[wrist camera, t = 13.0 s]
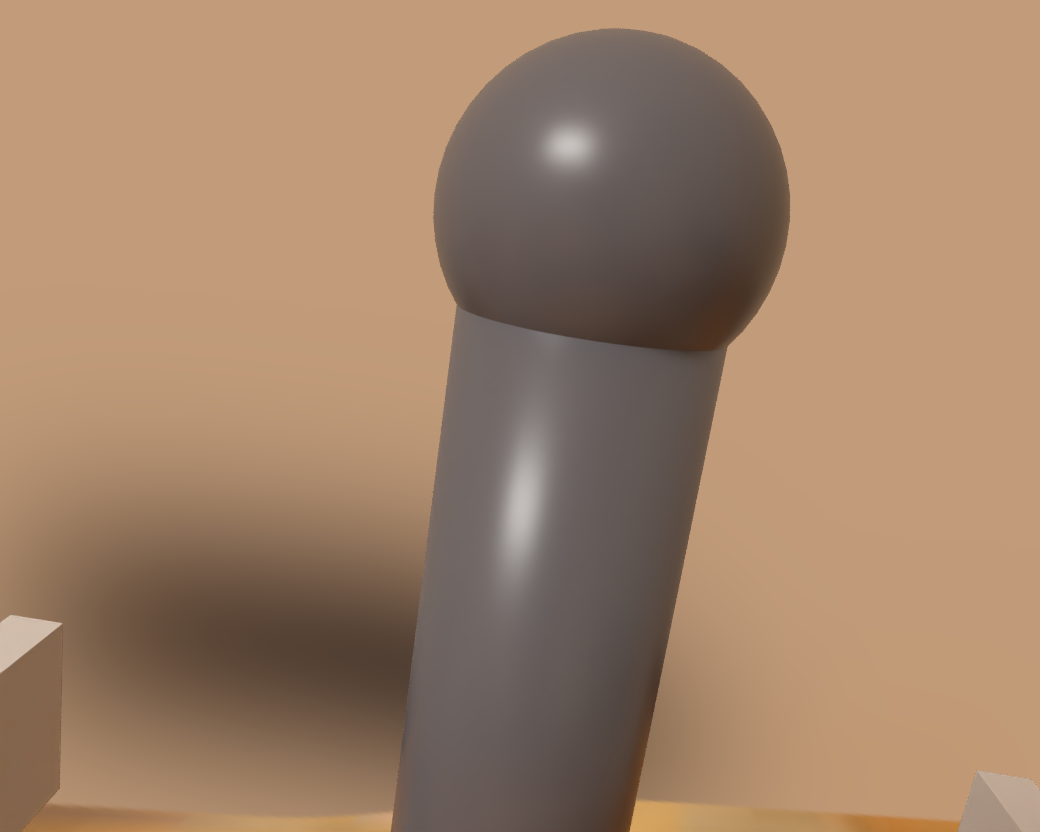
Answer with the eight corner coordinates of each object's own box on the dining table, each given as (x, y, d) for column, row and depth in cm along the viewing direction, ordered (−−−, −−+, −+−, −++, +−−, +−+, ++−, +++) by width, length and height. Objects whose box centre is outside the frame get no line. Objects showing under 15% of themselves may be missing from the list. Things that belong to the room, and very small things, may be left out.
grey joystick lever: (596, 1168, 17) (824, 107, 12) (618, 1668, 11) (1071, 9, 6) (298, 1123, 17) (411, 46, 12) (165, 1599, 11) (283, -104, 6)
